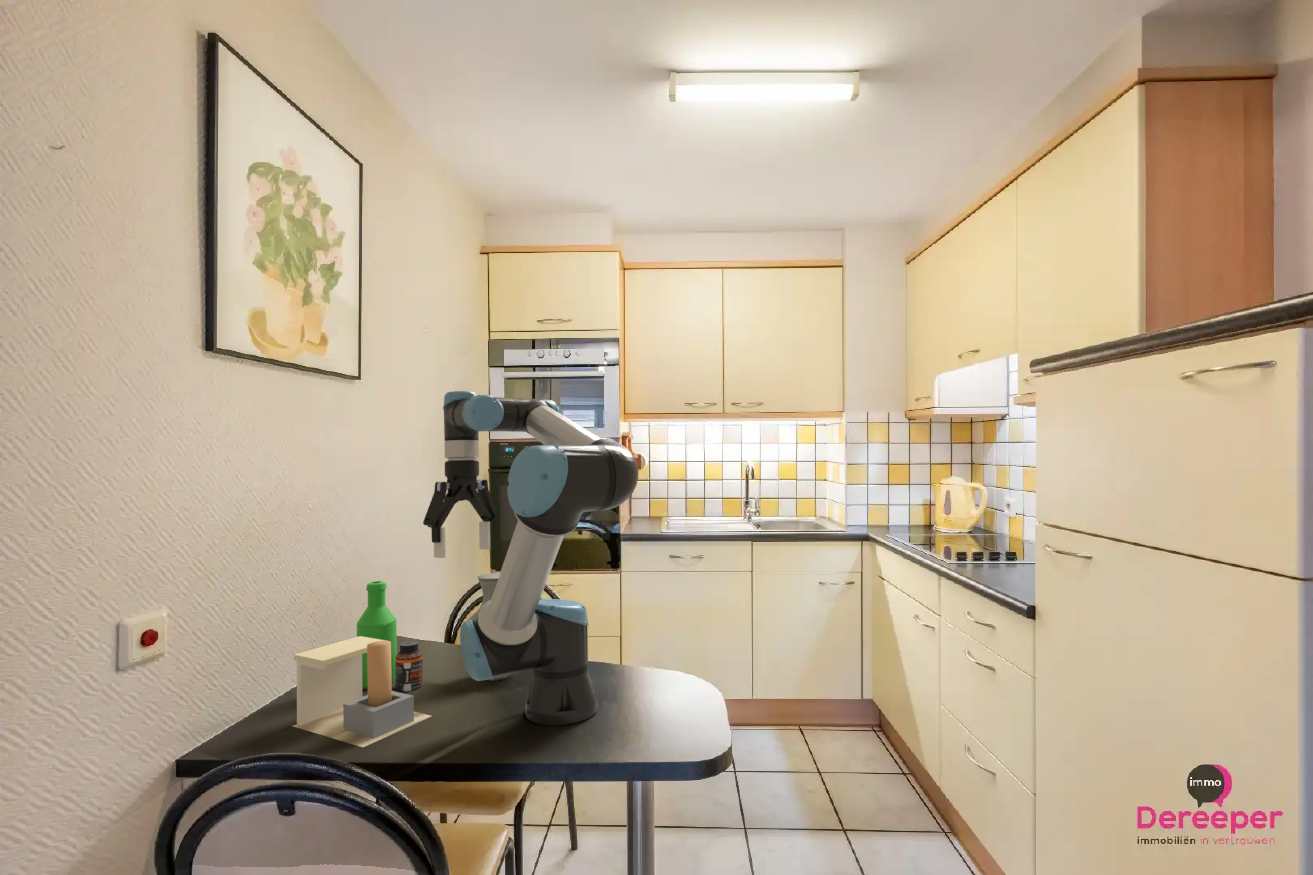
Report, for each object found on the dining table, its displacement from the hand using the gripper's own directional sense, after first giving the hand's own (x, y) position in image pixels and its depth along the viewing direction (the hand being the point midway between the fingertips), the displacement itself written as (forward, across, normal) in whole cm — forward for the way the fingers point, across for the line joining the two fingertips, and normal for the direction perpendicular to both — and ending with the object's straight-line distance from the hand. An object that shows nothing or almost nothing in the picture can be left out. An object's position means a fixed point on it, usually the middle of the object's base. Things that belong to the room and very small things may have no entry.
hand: (463, 553), depth 144 cm
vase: (+33, -15, -5) cm, 37 cm away
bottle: (+33, +3, -26) cm, 42 cm away
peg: (+31, +20, -3) cm, 37 cm away
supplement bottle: (+33, +2, -16) cm, 37 cm away
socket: (+31, +20, -3) cm, 37 cm away
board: (+33, +20, -8) cm, 39 cm away
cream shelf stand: (+31, +20, -14) cm, 40 cm away
